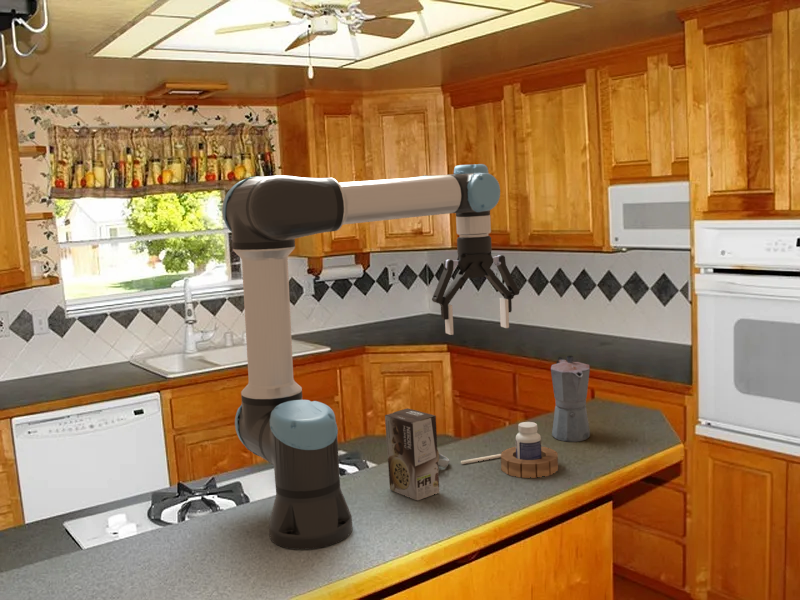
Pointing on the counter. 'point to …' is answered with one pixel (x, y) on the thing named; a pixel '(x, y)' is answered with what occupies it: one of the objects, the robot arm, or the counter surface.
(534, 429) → the pill bottle
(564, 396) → the moka pot
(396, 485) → the coffee box
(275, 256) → the robot arm
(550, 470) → the brown segmented ring
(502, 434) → the counter surface
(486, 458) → the wooden dowel
